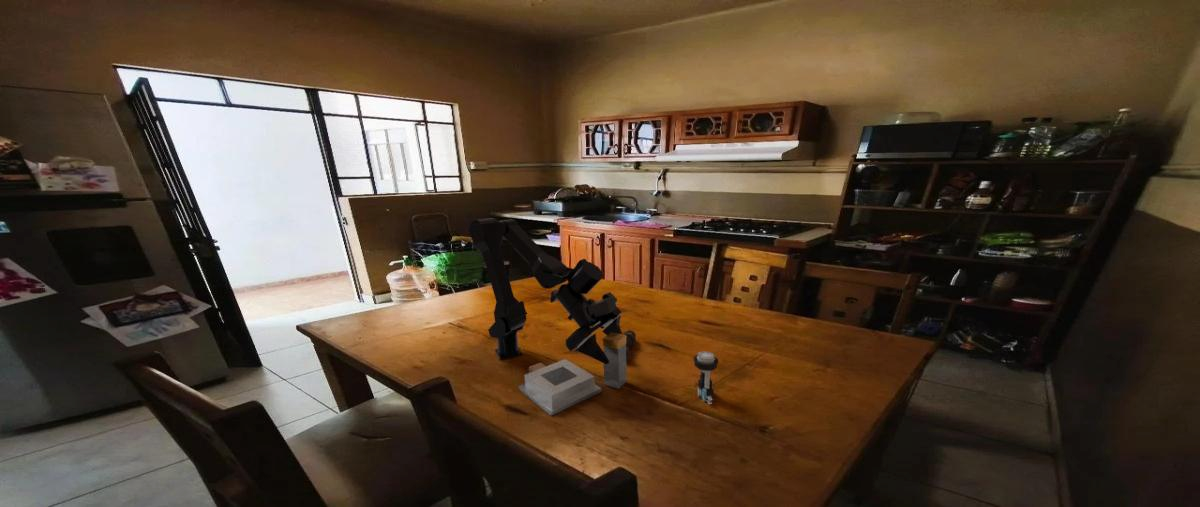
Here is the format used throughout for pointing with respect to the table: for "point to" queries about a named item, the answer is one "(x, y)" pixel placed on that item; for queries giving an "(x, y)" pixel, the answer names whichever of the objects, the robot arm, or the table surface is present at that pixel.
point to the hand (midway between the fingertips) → (617, 355)
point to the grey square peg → (615, 359)
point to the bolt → (629, 342)
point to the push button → (705, 374)
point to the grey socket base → (558, 385)
